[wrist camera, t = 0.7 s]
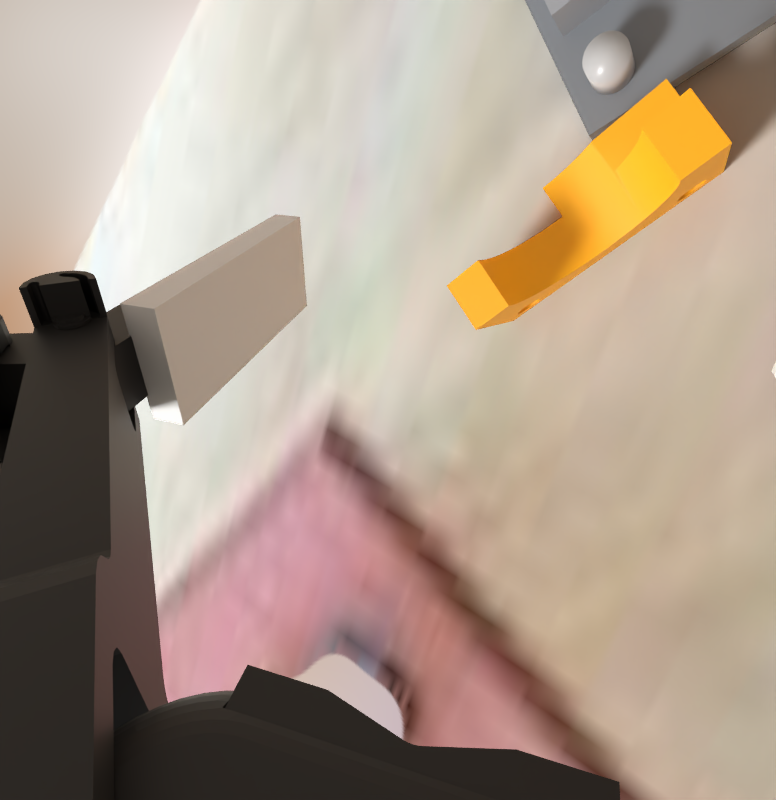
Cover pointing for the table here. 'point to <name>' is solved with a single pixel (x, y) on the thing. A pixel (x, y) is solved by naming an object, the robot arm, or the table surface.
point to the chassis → (639, 46)
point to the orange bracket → (602, 202)
